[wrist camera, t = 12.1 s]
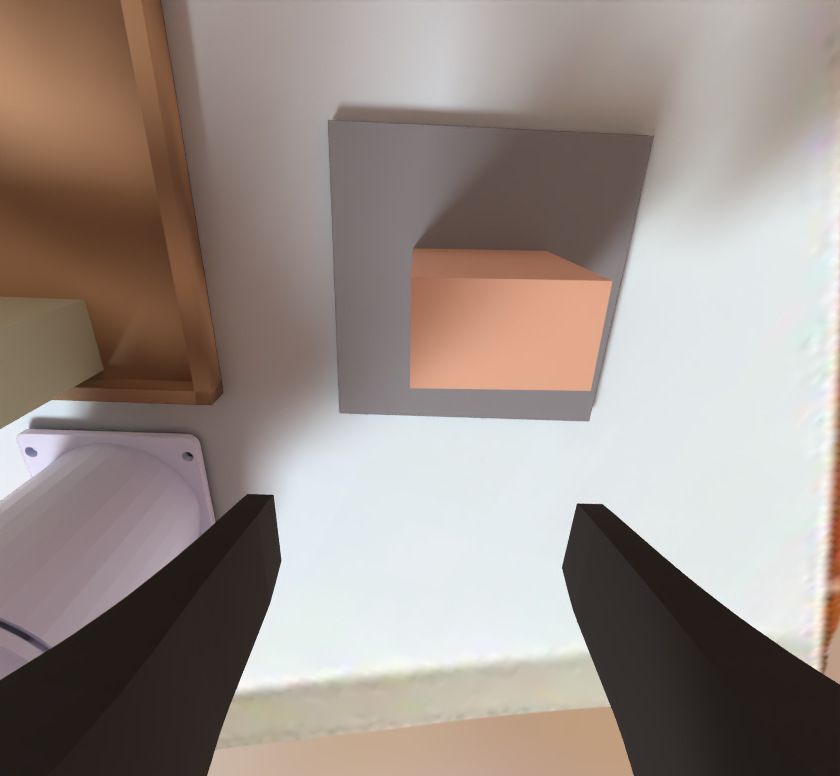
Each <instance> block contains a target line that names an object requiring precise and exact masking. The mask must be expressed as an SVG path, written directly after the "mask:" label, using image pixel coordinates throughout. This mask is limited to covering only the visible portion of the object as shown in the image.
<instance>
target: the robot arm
mask: <svg viewBox="0 0 840 776" xmlns="http://www.w3.org/2000/svg"><path fill="white" fill-rule="evenodd" d="M16 439H17V443H18V446H19V448H20V451H21V453H22V456H23V458H24V461H25V463H26V466H27V468H28V471H29V473H30V476H31V479H30V480H28V481H27V482H26V483H24V484H23V485H22V486H20V487H19V488H17V489H16V490H15V491H13V492H12V493H11V494H9V495H8V496H7V497H5V498H4V499H3V500H1V501H0V776H207V774H208V771H209V767H210V764H211V761H212V758H213V754H214V751H215V748H216V744H217V741H218V738H219V734H220V731H221V729H222V726H223V723H224V720H225V717H226V715H227V712H228V709H229V706H230V704H231V701H232V699H233V696H234V694H235V691H236V689H237V686H238V684H239V681H240V678H241V676H242V673H243V671H244V668H245V666H246V663H247V661H248V658H249V656H250V653H251V651H252V648H253V646H254V643H255V641H256V638H257V636H258V633H259V630H260V628H261V625H262V623H263V620H264V618H265V615H266V612H267V610H268V607H269V605H270V601H271V598H272V594H273V591H274V587H275V583H276V580H277V576H278V572H279V568H280V564H281V553H280V545H279V537H278V528H277V520H276V512H275V503H274V495H258V494H247V495H246V496H245V497H244V498H243V499H241V500H240V501H239V502H238V503H237V504H236V505H235V506H233V507H232V508H231V509H230V510H229V511H228V512H227V513H226V514H224V515H223V516H222V517H221V518H220V519H219V520H218V521H217V522H215V517H214V512H213V507H212V502H211V497H210V491H209V486H208V481H207V476H206V471H205V466H204V460H203V455H202V450H201V445H200V442H199V440H198V439H197V438H196V437H195V436H193V435H191V434H176V433H144V432H112V431H80V430H49V429H26V430H24V431H23V432H21V433H20V434H18V435H17V438H16ZM33 448H34V449H35V450H36V451H35V450H34V449H33ZM186 452H190V453H191V454H192V455H193V457H191V456H189V455H187V453H186ZM562 569H563V573H564V577H565V581H566V585H567V590H568V593H569V597H570V601H571V604H572V608H573V611H574V614H575V616H576V619H577V622H578V624H579V627H580V629H581V632H582V635H583V637H584V640H585V642H586V645H587V647H588V650H589V652H590V655H591V657H592V660H593V662H594V665H595V667H596V670H597V673H598V675H599V678H600V680H601V683H602V685H603V688H604V690H605V693H606V695H607V698H608V700H609V703H610V705H611V708H612V710H613V713H614V716H615V718H616V721H617V724H618V727H619V730H620V732H621V735H622V738H623V741H624V744H625V748H626V751H627V754H628V758H629V761H630V764H631V767H632V771H633V774H634V776H840V684H838V683H836V682H835V681H833V680H831V679H830V678H828V677H827V676H825V675H823V674H822V673H820V672H819V671H817V670H816V669H814V668H812V667H811V666H809V665H808V664H806V663H805V662H803V661H802V660H800V659H799V658H797V657H796V656H794V655H793V654H791V653H790V652H788V651H787V650H785V649H784V648H782V647H781V646H779V645H778V644H777V643H775V642H774V641H772V640H771V639H769V638H768V637H766V636H765V635H764V634H762V633H761V632H759V631H758V630H756V629H755V628H753V627H752V626H751V625H749V624H748V623H747V622H745V621H744V620H742V619H741V618H740V617H738V616H737V615H736V614H734V613H733V612H732V611H730V610H729V609H728V608H726V607H725V606H724V605H723V604H721V603H720V602H719V601H717V600H716V599H715V598H713V597H712V596H711V595H710V594H708V593H707V592H706V591H704V590H703V589H702V588H701V587H699V586H698V585H697V584H696V583H694V582H693V581H692V580H691V579H689V578H688V577H687V576H686V575H685V574H683V573H682V572H681V571H680V570H679V569H677V568H676V567H675V566H674V565H673V564H671V563H670V562H669V561H668V560H667V559H666V558H664V557H663V556H662V555H661V554H660V553H659V552H657V551H656V550H655V549H654V548H653V547H652V546H650V545H649V544H648V543H647V542H646V541H645V540H644V539H642V538H641V537H640V536H639V535H638V534H637V533H636V532H634V531H633V530H632V529H631V528H630V527H629V526H628V525H626V524H625V523H624V522H623V521H622V520H621V519H620V518H618V517H617V516H616V515H615V514H614V513H612V512H611V511H610V510H609V509H608V508H606V507H605V506H604V505H603V504H577V506H576V510H575V515H574V519H573V523H572V527H571V532H570V536H569V540H568V544H567V549H566V553H565V557H564V561H563V566H562Z"/></svg>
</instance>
